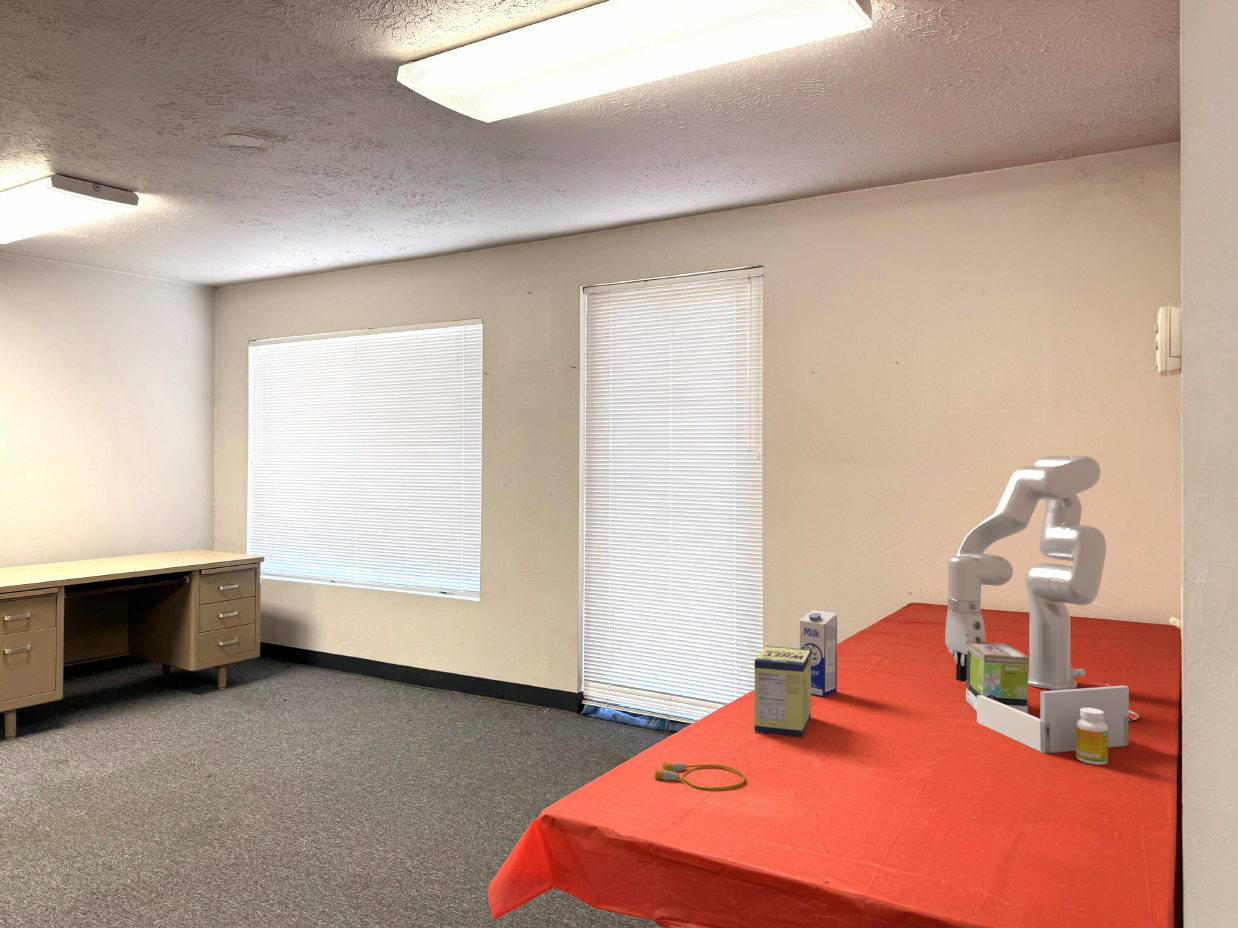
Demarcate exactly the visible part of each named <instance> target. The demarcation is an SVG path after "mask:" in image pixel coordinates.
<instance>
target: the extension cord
mask: <svg viewBox="0 0 1238 928" xmlns="http://www.w3.org/2000/svg"><path fill="white" fill-rule="evenodd" d="M687 768H691V769H690V770H688V771H686V770H687ZM705 768H716V769H723V770H724V771H725V770H726V771H729V772H731V773H734V774H736V775H738V776H739V777H741V778H742V781H741V782H739V783H736V784H731V785H726V786H715V787H713V786H711V787H710V786H699V785H696V784H694V783H692V782H690V781H689V780H687V779H686V778H685V776H686V775H687V774H690V772H693V771H696V770H700V769H705ZM681 771H686V772H684V773H683V774H682V775H681V777H680V776H679V773H678V772H681ZM654 778H655V780H662V781H670V782H671V781H674V782H675V781H679V780H680V782H681V783H682V785H685V786H689V785H690V786H692V787H693V788H695V789H697V790H703V791H729V790H733V789H737V788H739V787H741V786H742V785H744V784H745V782H746V776H745V774H744V773H743V772H742V771H740V770H739V769H736V768H734V767H731V766H728V765H723V764H711V763H710V764H695V765H694V764H691V765H690V764H689V765H687V764H686V763H683V762H681V763H680V762H669V763H668V762H665V761H664V762H663V763H662V770H658V769H656V770H655V774H654Z"/></svg>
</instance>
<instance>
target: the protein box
mask: <svg viewBox="0 0 1238 928" xmlns="http://www.w3.org/2000/svg"><path fill="white" fill-rule="evenodd" d="M811 698H812V695H811V650H810V649H800V648H794V647H783V646H772V645H765V647H764V648H763V649H762V651H761V652H760V653H759V655H758V656H757V657H756V658H755V660H754V731H758V732H757V733H759V732H763V733H762V734H768V733H773V734H772V735H779V736H786V737H795V738H796V737H797V738H803V737H804V735H805V732H806V730H807V727H808V724H809V723H810V720H811V713H812V711H811V710H812V707H811V706H812V705H811V704H812V699H811Z"/></svg>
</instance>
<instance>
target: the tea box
mask: <svg viewBox="0 0 1238 928" xmlns="http://www.w3.org/2000/svg"><path fill="white" fill-rule="evenodd" d="M1028 674H1029V656H1028V655H1026V654H1025V653H1024V652H1022V651H1020V650H1019V649H1017V648H1015V647H1014V646H1012V645H1010V644H1009V643H1005V642H1003V643H1002V642H1000V643H999V642H998V643H997V642H986V643H980V642H975V643H969V646H968V654H967V671H966V682H965V683H966V685H965V686H966V687H965V700H966V702H967V703H968V704H969V705H970V706H971V707H972V708H973V709H974V710H975V711H976V712H977V696H978V695H982V696H985V697H987V698H990V699H992V700H995V701H997V702H1000V703H1002V704H1005V705H1007V706H1009V707H1012V708H1014V709H1017V710H1019V711H1022V712H1024V713H1027V714H1029V713H1028V710H1029V708H1028V707H1029V705H1028V704H1029V685H1028Z"/></svg>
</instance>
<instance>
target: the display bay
mask: <svg viewBox="0 0 1238 928" xmlns="http://www.w3.org/2000/svg"><path fill="white" fill-rule="evenodd" d="M1129 694H1130V688H1129V686H1128V685H1127V686H1126V685H1115V686H1114V685H1113V686H1100V687H1098V686H1097V687H1086V688H1085V687H1084V688H1075V689H1069V690H1052V689H1049V690H1042V691H1040V698H1039V699H1040V703H1039V704H1040V705H1039V706H1040V709H1039V710H1040V711H1039V715H1040V716H1039V717H1036V716H1034V715H1031V714H1029V713H1028V714H1027V713H1024V712H1022V711H1019V710H1017V709H1014V708H1012V707H1009V706H1007V705H1005V704H1002V703H1000V702H997V701H995V700H992V699H990V698H987V697H985V696H982V695H978V696H977V711H976V723H977V724H979V725H981V726H982V727H983V726H984V727H986V728H988V729H990V730H993V731H994V732H996V733H999V734H1002V735H1004V736H1006V737H1007V738H1010V739H1012V740H1014V741H1017V742H1019V743H1021V744H1023V745H1025V746H1027V747H1029V748H1031V749H1034V750H1036V751H1038V752H1041V753H1043V754H1053V753H1064V752H1076V722H1077V721H1078V720H1079V719H1082V717H1081V716H1080V709H1081V708H1094V709H1098V710H1101V711H1103V712H1104V720H1103V722H1104V723H1106V724H1107V726H1108V748H1117V747H1118V748H1119V747H1126V746H1128V747H1129V740H1130V739H1129V738H1130V737H1129V735H1130V734H1129V732H1130V731H1129V721H1130V720H1129V718H1130V717H1129V711H1130V706H1129V705H1130V704H1129V702H1130V701H1129V700H1130V698H1129V697H1130V695H1129Z"/></svg>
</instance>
